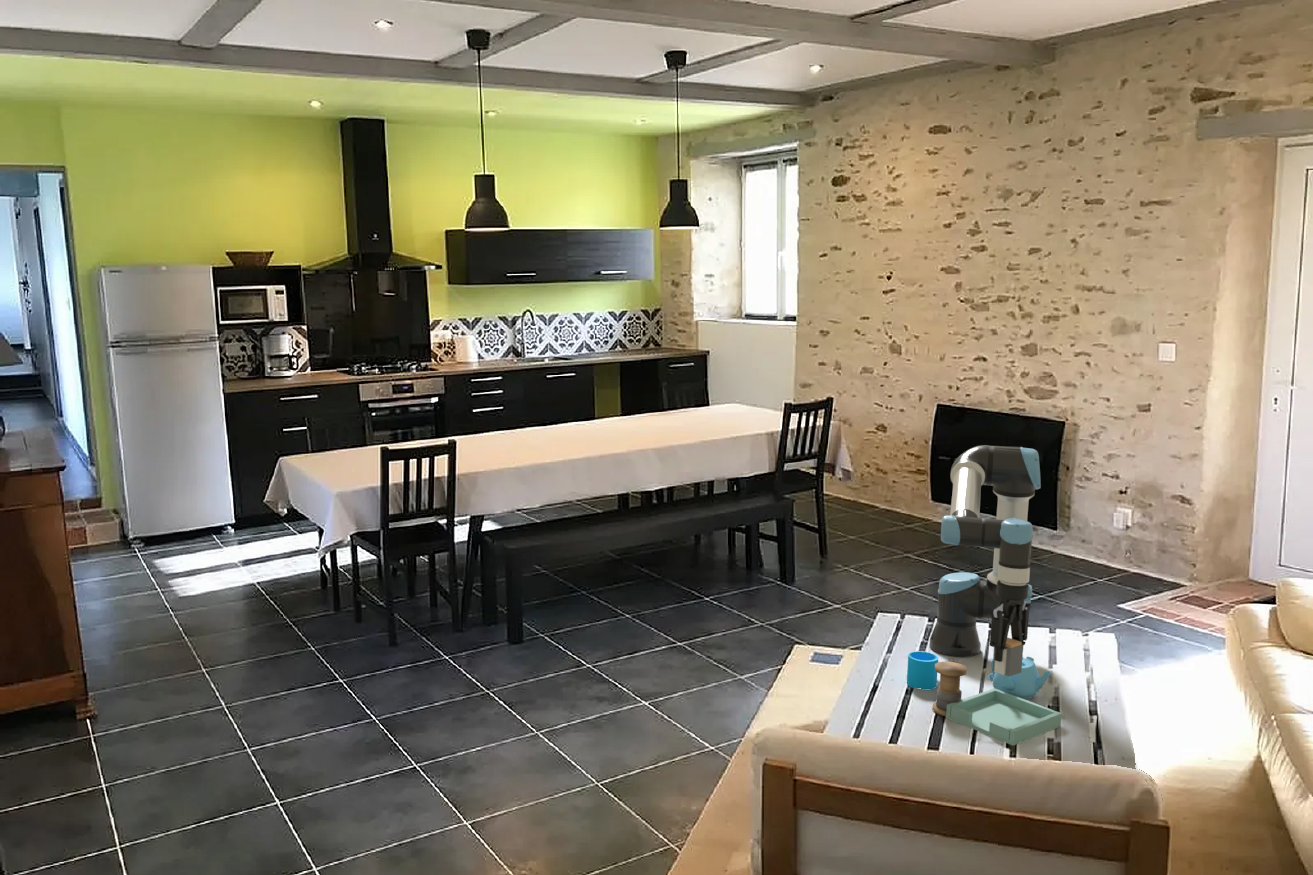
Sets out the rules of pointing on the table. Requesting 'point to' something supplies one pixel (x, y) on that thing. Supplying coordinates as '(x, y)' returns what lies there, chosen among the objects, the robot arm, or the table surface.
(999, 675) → the teapot
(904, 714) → the table surface
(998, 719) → the pale green tray
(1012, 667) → the gray and orange block
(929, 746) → the table surface
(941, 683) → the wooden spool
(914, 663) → the mug
